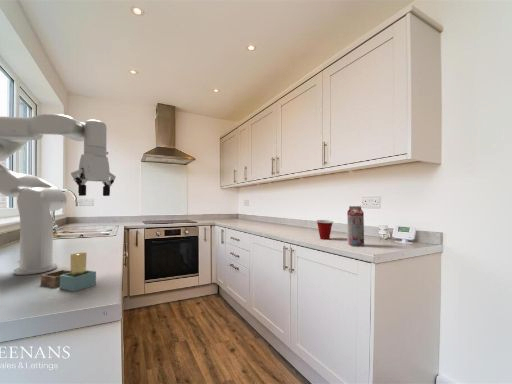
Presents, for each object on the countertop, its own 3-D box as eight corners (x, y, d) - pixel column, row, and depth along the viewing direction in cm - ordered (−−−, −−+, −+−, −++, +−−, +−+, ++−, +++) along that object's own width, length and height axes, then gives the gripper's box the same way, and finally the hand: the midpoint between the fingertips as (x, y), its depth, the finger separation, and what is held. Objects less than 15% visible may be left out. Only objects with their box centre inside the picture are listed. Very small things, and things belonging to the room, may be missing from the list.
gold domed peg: (67, 287, 77) (67, 254, 77) (80, 283, 81) (80, 252, 81) (75, 289, 76) (76, 255, 76) (89, 285, 79) (89, 253, 80)
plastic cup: (324, 240, 158) (324, 221, 159) (313, 238, 168) (312, 220, 168) (337, 239, 164) (337, 220, 164) (325, 237, 173) (324, 219, 173)
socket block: (40, 284, 80) (40, 275, 80) (63, 278, 86) (63, 269, 86) (53, 287, 77) (53, 277, 78) (76, 280, 84) (76, 271, 84)
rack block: (59, 288, 76) (59, 275, 76) (82, 281, 82) (82, 269, 83) (74, 291, 74) (74, 277, 74) (95, 284, 80) (95, 271, 80)
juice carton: (364, 246, 139) (363, 206, 140) (352, 246, 140) (351, 206, 140) (359, 244, 146) (358, 206, 147) (347, 244, 146) (347, 206, 147)
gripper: (108, 156, 109) (108, 196, 109) (65, 149, 93) (65, 195, 93) (121, 155, 107) (120, 195, 106) (79, 147, 91) (78, 195, 90)
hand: (94, 195), depth 100 cm, fingers open, 9 cm apart
